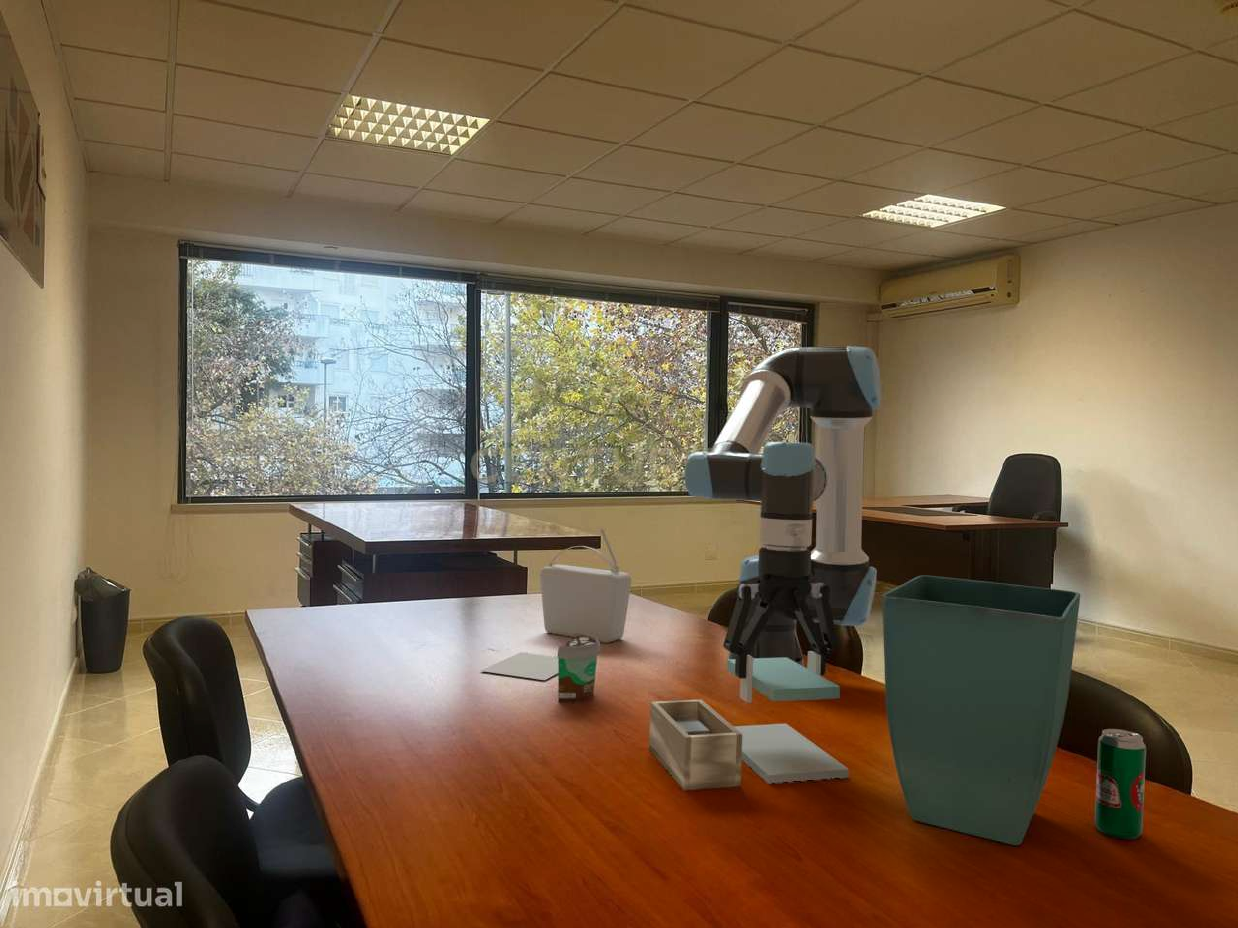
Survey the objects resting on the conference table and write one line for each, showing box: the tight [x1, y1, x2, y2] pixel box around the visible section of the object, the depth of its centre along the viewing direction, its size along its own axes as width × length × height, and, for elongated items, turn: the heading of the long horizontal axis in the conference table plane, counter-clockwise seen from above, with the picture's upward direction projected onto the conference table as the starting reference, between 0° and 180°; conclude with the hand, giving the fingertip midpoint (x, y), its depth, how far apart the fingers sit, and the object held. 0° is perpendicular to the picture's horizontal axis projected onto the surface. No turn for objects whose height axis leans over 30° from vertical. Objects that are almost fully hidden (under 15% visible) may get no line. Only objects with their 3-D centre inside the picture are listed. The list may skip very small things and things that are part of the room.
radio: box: [539, 528, 632, 644], centre depth 207 cm, size 22×8×25 cm, turn 58°
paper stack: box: [480, 651, 558, 681], centre depth 184 cm, size 23×25×1 cm
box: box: [648, 698, 743, 791], centre depth 127 cm, size 8×16×7 cm, turn 15°
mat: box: [733, 723, 850, 785], centre depth 132 cm, size 12×20×1 cm, turn 15°
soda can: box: [1094, 728, 1147, 841], centre depth 109 cm, size 5×5×12 cm
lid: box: [726, 657, 841, 702], centre depth 132 cm, size 10×17×2 cm, turn 15°
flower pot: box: [881, 575, 1081, 846], centre depth 111 cm, size 20×20×28 cm
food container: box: [556, 632, 602, 703], centre depth 159 cm, size 12×6×10 cm, turn 168°
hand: (779, 698), depth 132 cm, fingers closed on lid, 10 cm apart
